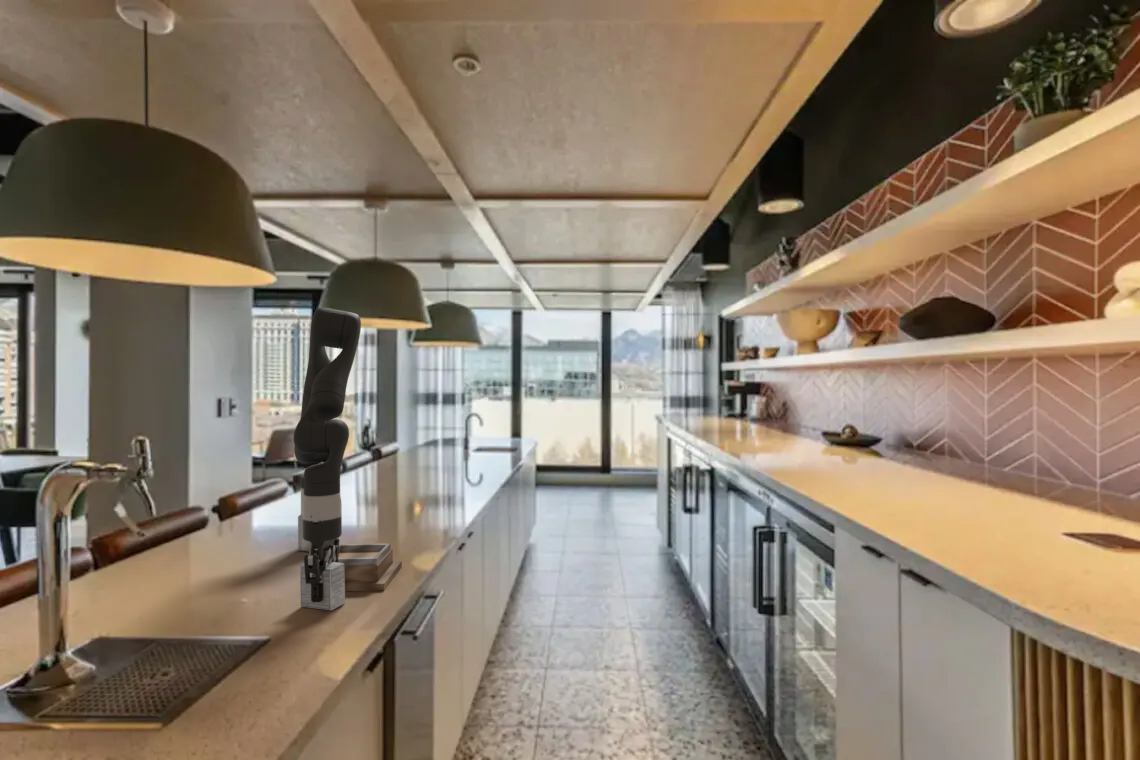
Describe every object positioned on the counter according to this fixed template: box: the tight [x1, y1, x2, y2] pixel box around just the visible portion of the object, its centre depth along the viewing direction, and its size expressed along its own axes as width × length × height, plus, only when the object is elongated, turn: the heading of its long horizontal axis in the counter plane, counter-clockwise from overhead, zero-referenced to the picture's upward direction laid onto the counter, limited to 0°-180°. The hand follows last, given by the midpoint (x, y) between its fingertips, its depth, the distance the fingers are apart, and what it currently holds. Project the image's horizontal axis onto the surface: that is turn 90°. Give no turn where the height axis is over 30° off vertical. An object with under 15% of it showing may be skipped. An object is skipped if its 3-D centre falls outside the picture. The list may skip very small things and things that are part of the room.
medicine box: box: [299, 562, 346, 611], centre depth 125 cm, size 8×4×9 cm, turn 71°
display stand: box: [338, 543, 403, 592], centre depth 142 cm, size 17×17×6 cm
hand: (322, 595), depth 124 cm, fingers closed on medicine box, 5 cm apart
